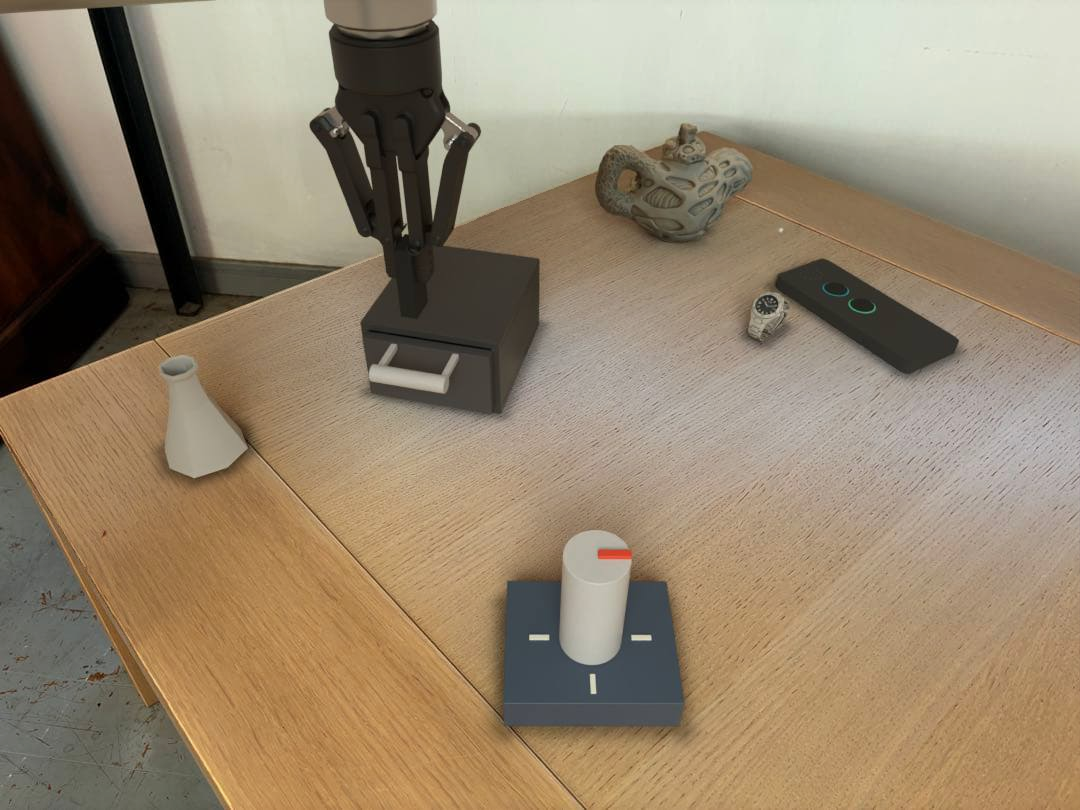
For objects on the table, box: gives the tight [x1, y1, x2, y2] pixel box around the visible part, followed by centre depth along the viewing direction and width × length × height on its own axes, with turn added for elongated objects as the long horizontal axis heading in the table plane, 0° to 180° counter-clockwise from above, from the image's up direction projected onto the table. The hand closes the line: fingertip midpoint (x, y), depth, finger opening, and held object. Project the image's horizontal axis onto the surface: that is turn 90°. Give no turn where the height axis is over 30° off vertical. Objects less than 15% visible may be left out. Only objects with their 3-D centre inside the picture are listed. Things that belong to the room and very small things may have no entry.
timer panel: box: [502, 580, 685, 727], centre depth 59 cm, size 12×10×3 cm
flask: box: [157, 353, 249, 479], centre depth 74 cm, size 7×7×10 cm
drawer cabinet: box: [359, 245, 541, 415], centre depth 85 cm, size 16×14×9 cm
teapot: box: [594, 122, 754, 243], centre depth 104 cm, size 21×12×15 cm, turn 108°
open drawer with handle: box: [361, 331, 495, 415], centre depth 82 cm, size 20×12×7 cm, turn 166°
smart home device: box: [775, 258, 960, 375], centre depth 94 cm, size 8×2×20 cm
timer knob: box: [559, 529, 633, 665], centre depth 55 cm, size 4×4×9 cm
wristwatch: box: [747, 290, 791, 343], centre depth 90 cm, size 4×6×5 cm, turn 137°
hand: (414, 308), depth 72 cm, fingers closed
